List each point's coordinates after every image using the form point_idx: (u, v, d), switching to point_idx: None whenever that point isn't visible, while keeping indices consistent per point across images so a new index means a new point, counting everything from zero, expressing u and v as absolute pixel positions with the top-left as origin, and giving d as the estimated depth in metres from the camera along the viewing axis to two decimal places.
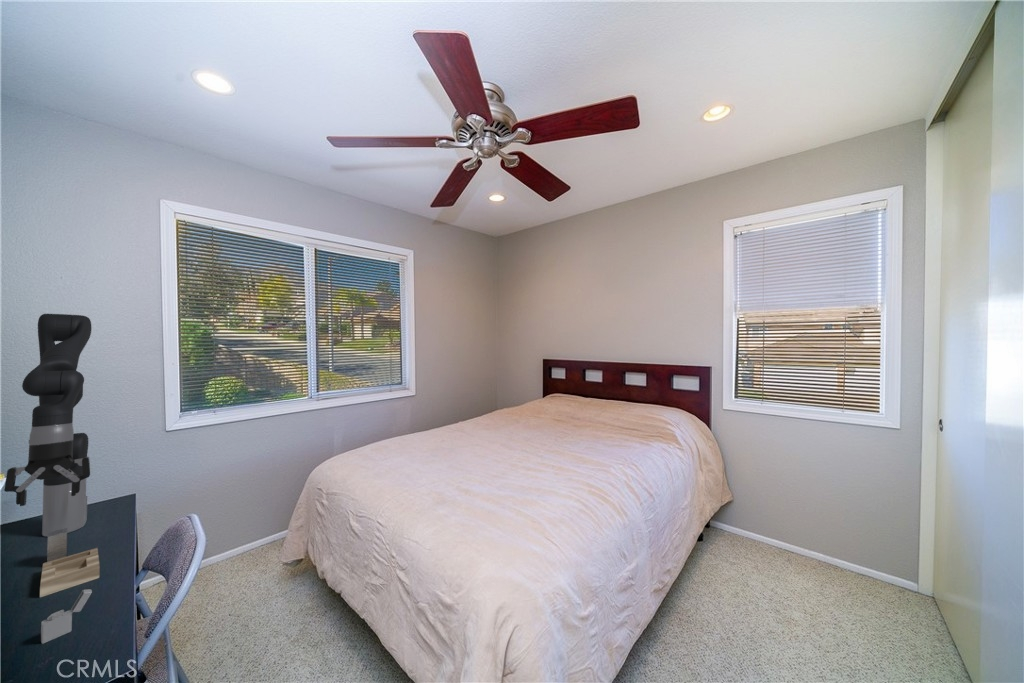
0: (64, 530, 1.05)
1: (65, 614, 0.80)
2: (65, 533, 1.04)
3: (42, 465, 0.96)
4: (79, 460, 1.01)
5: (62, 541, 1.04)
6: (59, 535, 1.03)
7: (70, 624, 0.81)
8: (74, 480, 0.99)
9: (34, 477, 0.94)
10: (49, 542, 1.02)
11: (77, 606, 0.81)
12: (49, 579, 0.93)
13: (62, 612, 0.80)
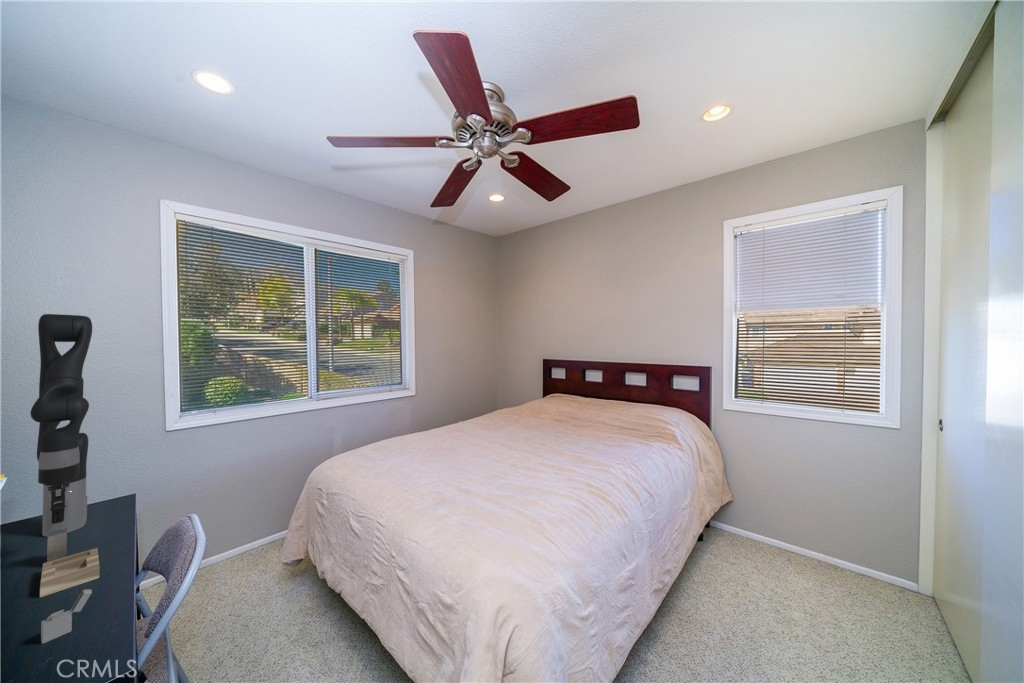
0: (64, 530, 1.05)
1: (65, 614, 0.80)
2: (65, 533, 1.04)
3: None
4: None
5: (62, 541, 1.04)
6: (59, 535, 1.03)
7: (70, 624, 0.81)
8: None
9: None
10: (49, 542, 1.02)
11: (77, 606, 0.81)
12: (49, 579, 0.93)
13: (62, 612, 0.80)
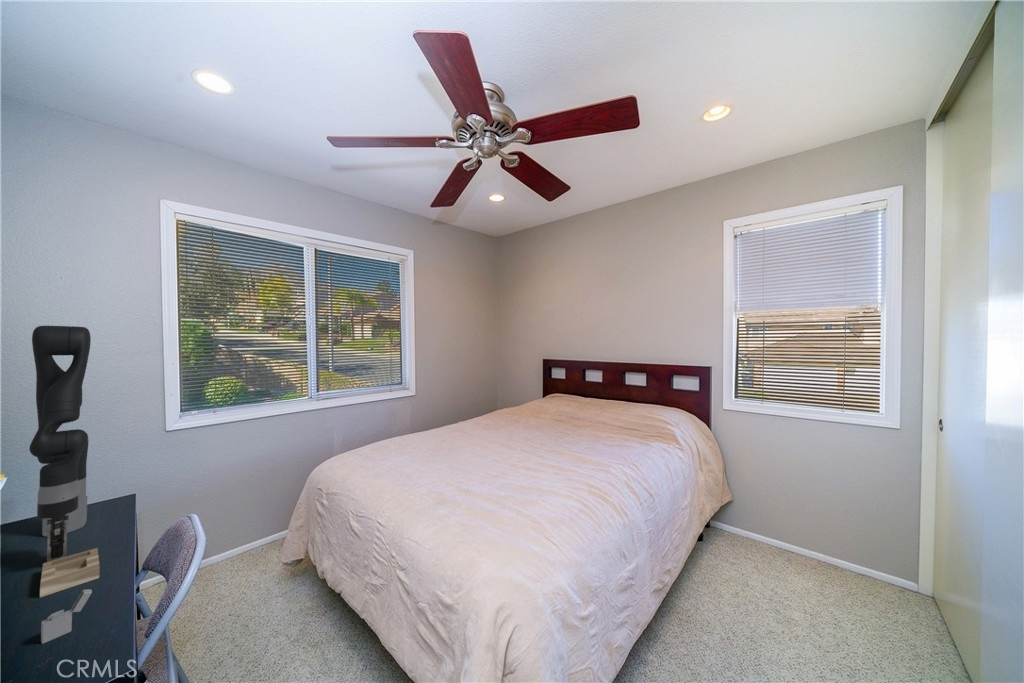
0: None
1: (65, 614, 0.80)
2: None
3: None
4: (54, 528, 1.01)
5: None
6: None
7: (70, 624, 0.81)
8: None
9: None
10: (49, 542, 1.02)
11: (77, 606, 0.81)
12: (49, 579, 0.93)
13: (62, 612, 0.80)
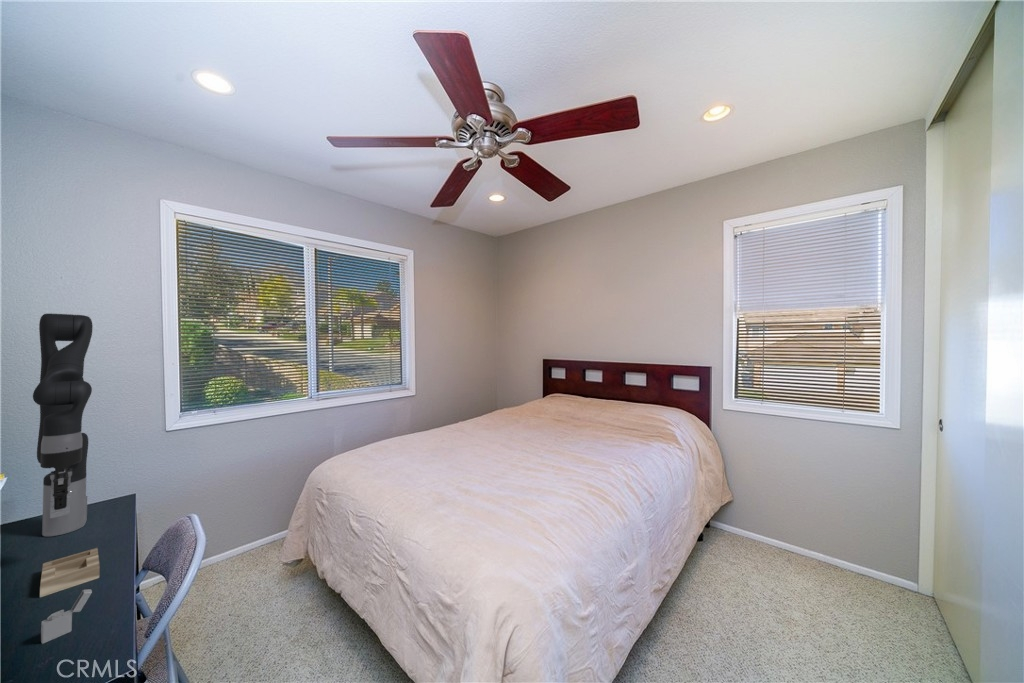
0: None
1: (65, 614, 0.80)
2: None
3: None
4: (58, 477, 0.99)
5: None
6: None
7: (70, 624, 0.81)
8: None
9: None
10: (52, 493, 1.00)
11: (77, 606, 0.81)
12: (49, 579, 0.93)
13: (62, 612, 0.80)
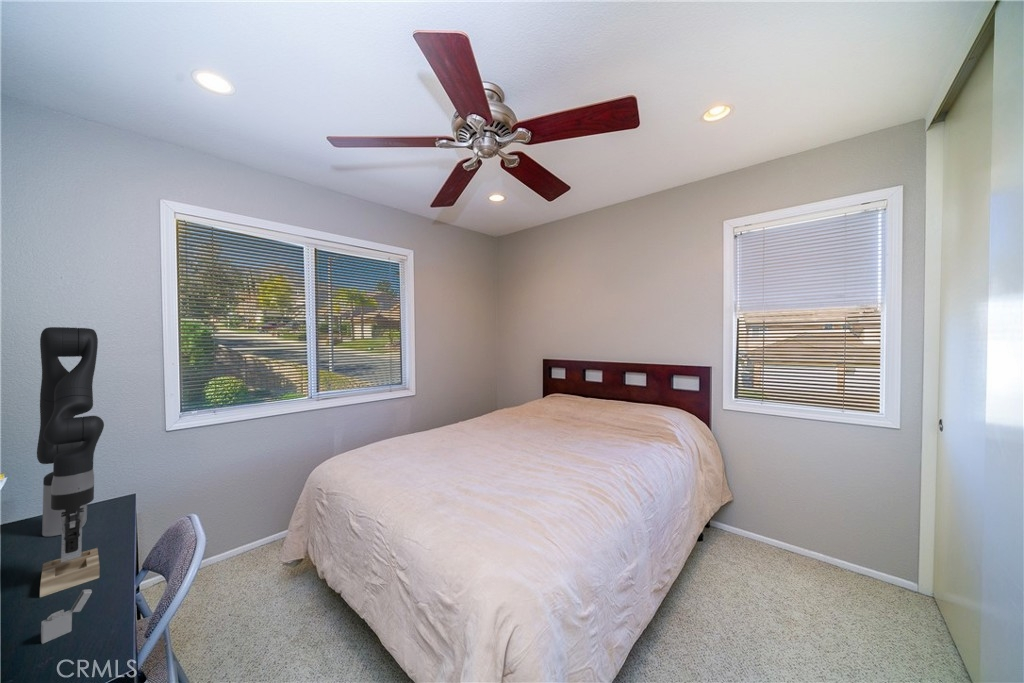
0: None
1: (65, 614, 0.80)
2: None
3: None
4: (69, 520, 0.94)
5: None
6: None
7: (70, 624, 0.81)
8: None
9: None
10: (63, 535, 0.95)
11: (77, 606, 0.81)
12: (49, 579, 0.93)
13: (62, 612, 0.80)
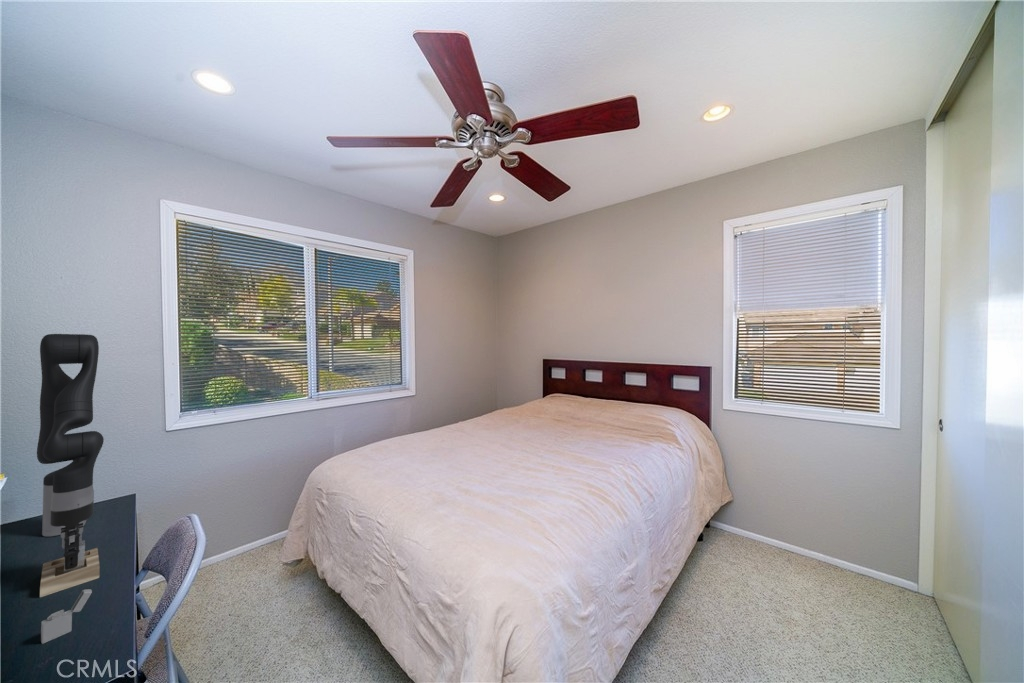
0: (82, 543, 0.99)
1: (65, 614, 0.80)
2: (83, 546, 0.98)
3: None
4: (69, 535, 0.94)
5: (80, 555, 0.98)
6: None
7: (70, 624, 0.81)
8: None
9: None
10: None
11: (77, 606, 0.81)
12: (49, 579, 0.93)
13: (62, 612, 0.80)
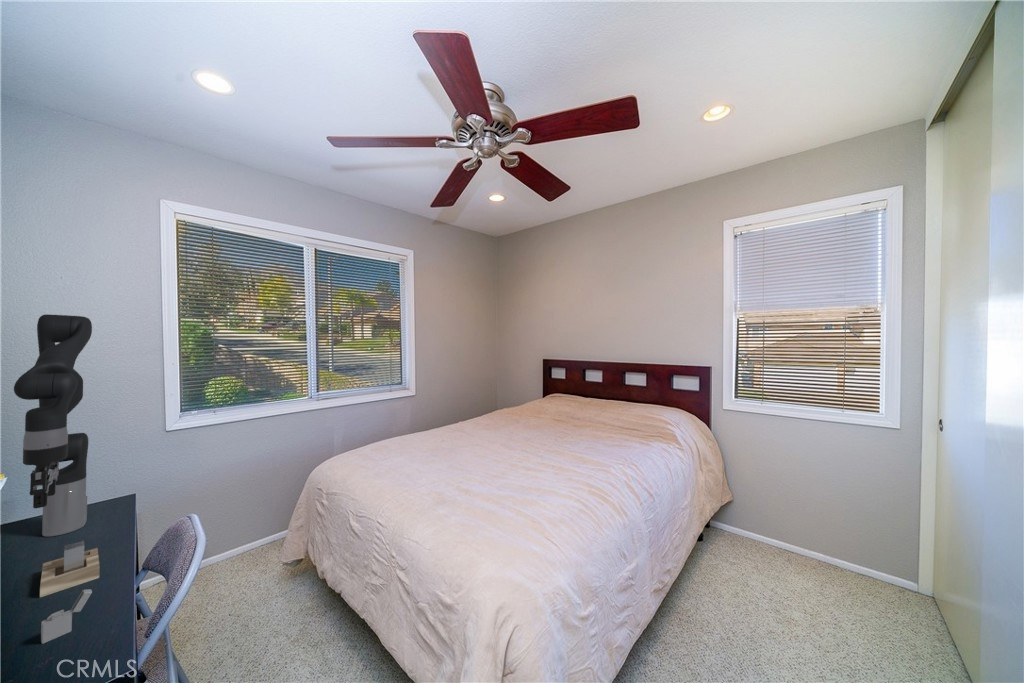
0: (81, 543, 0.99)
1: (65, 614, 0.80)
2: (82, 546, 0.98)
3: None
4: None
5: (79, 555, 0.98)
6: (76, 549, 0.97)
7: (70, 624, 0.81)
8: None
9: None
10: (66, 556, 0.96)
11: (77, 606, 0.81)
12: (49, 579, 0.93)
13: (62, 612, 0.80)
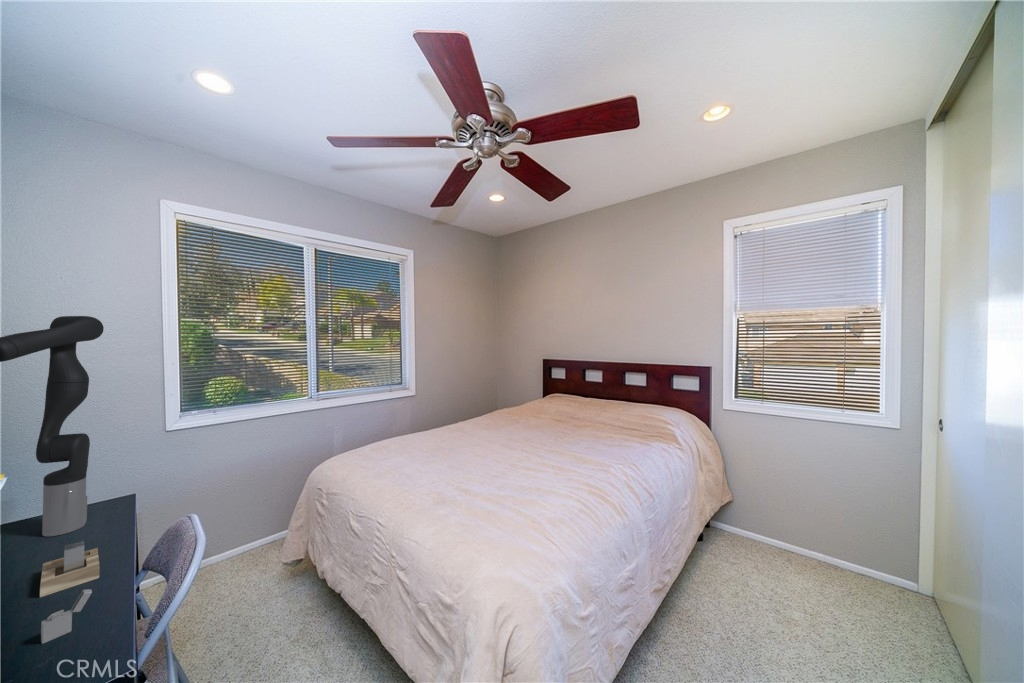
0: (81, 543, 0.99)
1: (65, 614, 0.80)
2: (82, 546, 0.98)
3: None
4: None
5: (79, 555, 0.98)
6: (76, 549, 0.97)
7: (70, 624, 0.81)
8: None
9: None
10: (66, 556, 0.96)
11: (77, 606, 0.81)
12: (49, 579, 0.93)
13: (62, 612, 0.80)
